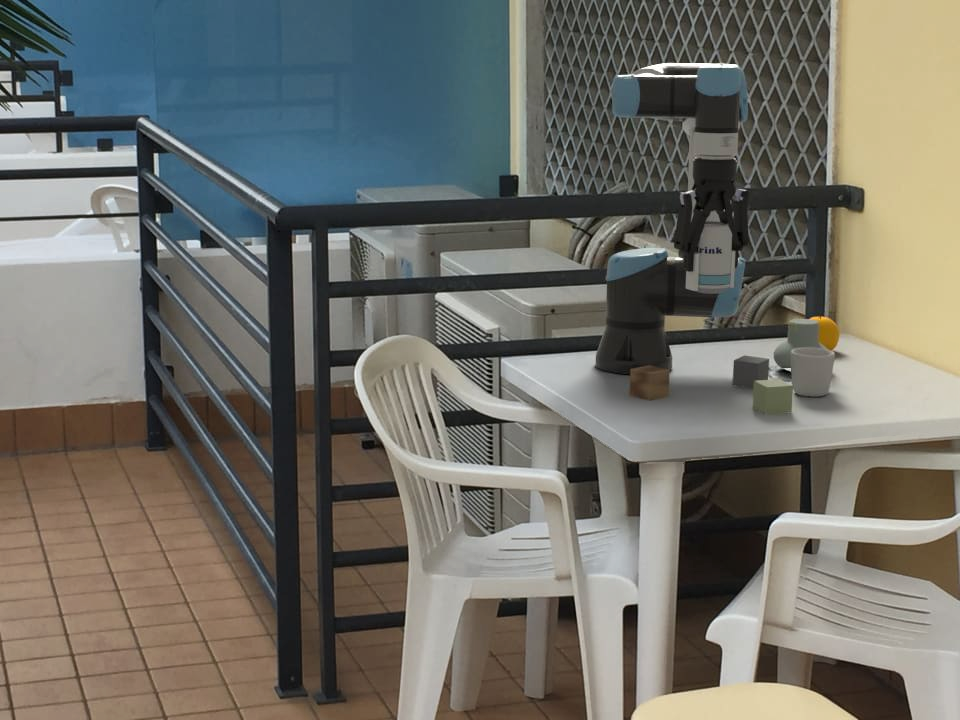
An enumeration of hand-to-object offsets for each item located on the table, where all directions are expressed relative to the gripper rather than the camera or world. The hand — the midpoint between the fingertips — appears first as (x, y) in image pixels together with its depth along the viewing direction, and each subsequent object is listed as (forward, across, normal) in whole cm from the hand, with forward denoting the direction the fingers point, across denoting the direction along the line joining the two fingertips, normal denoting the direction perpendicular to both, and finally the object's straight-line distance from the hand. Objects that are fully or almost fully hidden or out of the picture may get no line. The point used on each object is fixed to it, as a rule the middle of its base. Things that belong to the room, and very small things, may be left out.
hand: (709, 287), depth 259 cm
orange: (+21, +47, +26) cm, 58 cm away
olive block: (+21, +8, -9) cm, 24 cm away
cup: (+21, +23, -2) cm, 31 cm away
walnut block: (+21, -6, +9) cm, 24 cm away
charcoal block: (+21, +16, +8) cm, 28 cm away
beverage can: (+1, 0, 0) cm, 1 cm away
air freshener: (+21, +32, +13) cm, 41 cm away
